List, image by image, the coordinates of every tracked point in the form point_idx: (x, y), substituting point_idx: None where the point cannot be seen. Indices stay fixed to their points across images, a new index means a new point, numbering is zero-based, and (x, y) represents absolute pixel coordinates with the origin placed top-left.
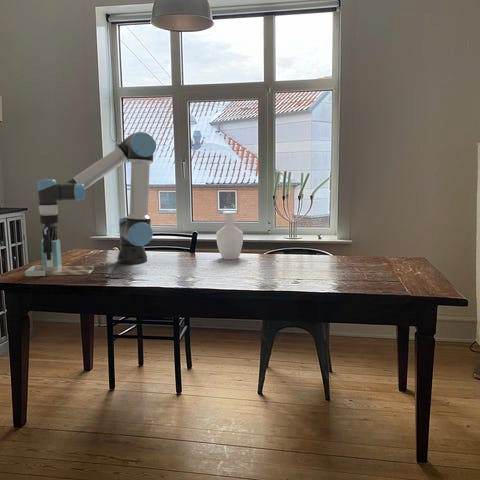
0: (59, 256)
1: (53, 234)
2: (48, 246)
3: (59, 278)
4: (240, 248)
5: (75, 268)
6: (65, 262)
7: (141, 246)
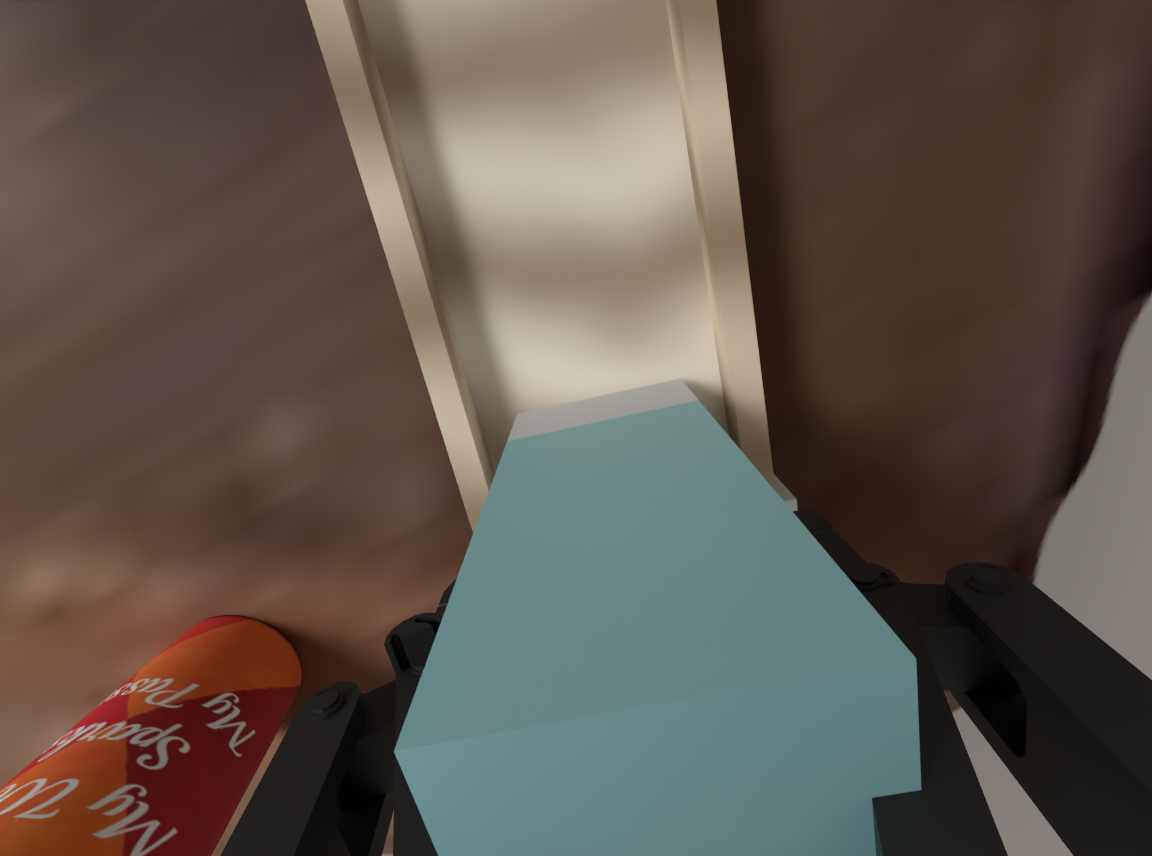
0: (580, 472)
1: None
2: (1115, 670)
3: (817, 281)
4: None
5: (428, 262)
6: (10, 630)
7: None
